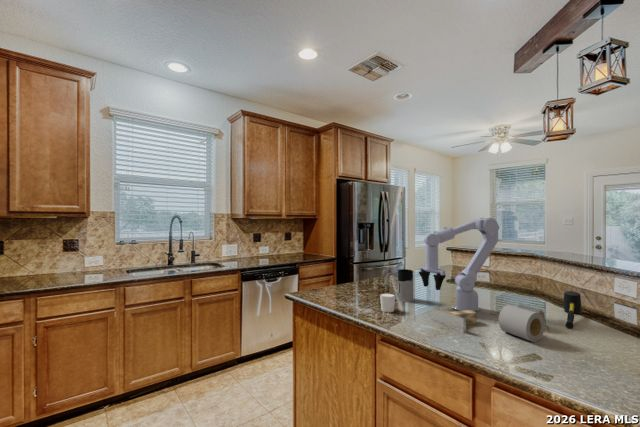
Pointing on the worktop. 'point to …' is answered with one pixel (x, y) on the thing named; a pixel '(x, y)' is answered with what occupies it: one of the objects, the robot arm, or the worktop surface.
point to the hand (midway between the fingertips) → (431, 288)
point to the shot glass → (387, 302)
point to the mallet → (571, 306)
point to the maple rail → (467, 315)
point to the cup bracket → (448, 319)
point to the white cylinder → (532, 310)
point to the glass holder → (404, 285)
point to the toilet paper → (522, 323)
